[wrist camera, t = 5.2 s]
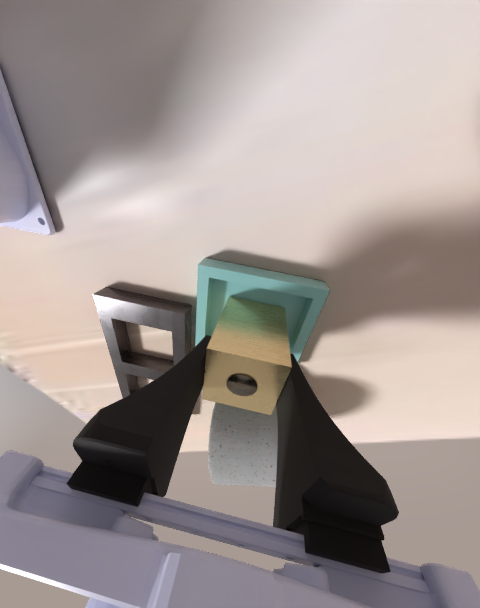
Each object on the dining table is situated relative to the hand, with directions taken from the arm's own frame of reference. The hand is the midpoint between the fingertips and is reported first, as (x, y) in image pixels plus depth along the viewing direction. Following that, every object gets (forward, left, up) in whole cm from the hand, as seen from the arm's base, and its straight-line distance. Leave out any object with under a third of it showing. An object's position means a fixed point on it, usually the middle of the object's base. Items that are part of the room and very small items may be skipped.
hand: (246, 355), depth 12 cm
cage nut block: (0, 0, -4) cm, 4 cm away
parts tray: (0, 0, -4) cm, 4 cm away
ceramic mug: (+10, +2, -5) cm, 11 cm away
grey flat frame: (+9, -10, -4) cm, 14 cm away
